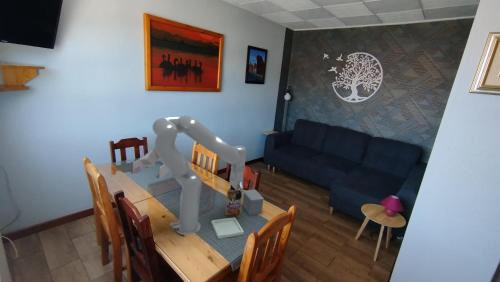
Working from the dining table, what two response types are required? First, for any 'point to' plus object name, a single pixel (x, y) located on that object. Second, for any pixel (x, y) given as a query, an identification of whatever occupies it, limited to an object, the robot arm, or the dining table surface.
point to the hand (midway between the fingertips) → (235, 194)
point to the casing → (149, 163)
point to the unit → (252, 202)
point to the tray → (227, 228)
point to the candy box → (233, 203)
